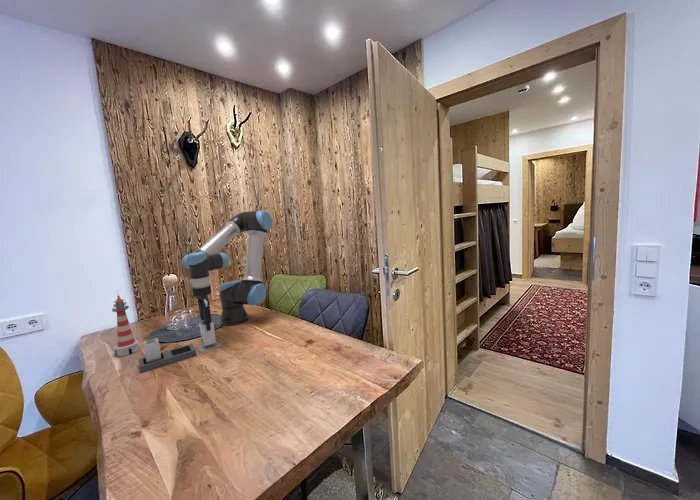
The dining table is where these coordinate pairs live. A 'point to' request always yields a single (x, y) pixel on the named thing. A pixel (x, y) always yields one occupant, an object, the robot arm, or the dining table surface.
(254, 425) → the dining table surface
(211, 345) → the mat
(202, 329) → the grey square peg
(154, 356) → the silver square post
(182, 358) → the rail
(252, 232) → the robot arm
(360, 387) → the dining table surface
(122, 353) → the miniature lighthouse
